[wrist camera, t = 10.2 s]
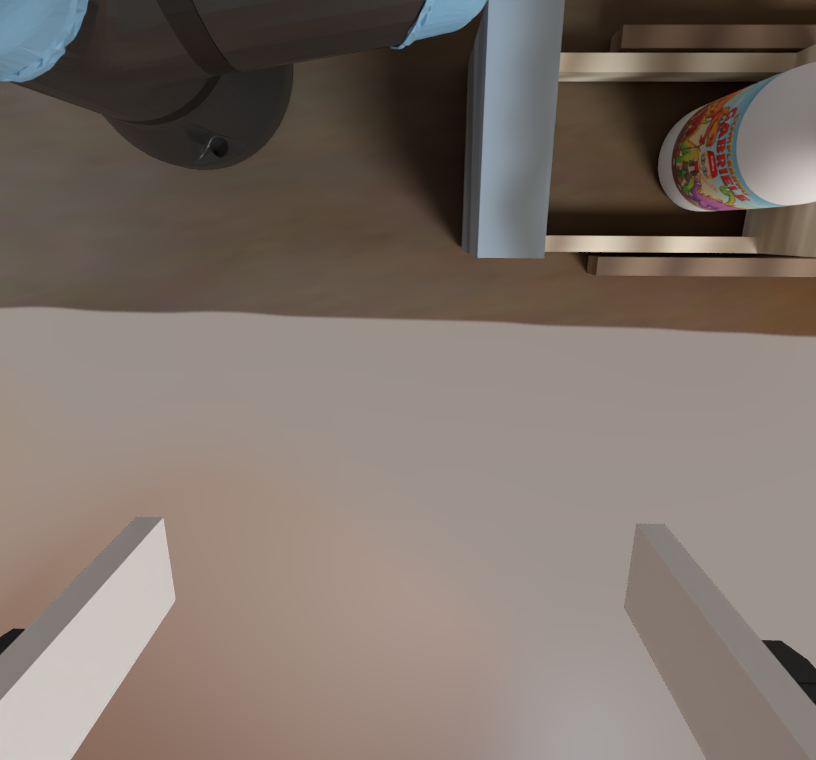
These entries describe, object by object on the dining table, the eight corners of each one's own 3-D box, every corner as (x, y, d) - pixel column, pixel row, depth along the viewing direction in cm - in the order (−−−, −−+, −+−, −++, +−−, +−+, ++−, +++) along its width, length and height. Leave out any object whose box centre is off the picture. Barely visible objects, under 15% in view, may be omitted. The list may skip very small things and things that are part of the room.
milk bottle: (730, 84, 39) (1036, -56, 20) (769, 176, 41) (1084, 129, 21) (637, 144, 40) (837, 68, 21) (679, 231, 42) (898, 233, 23)
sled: (461, 249, 42) (477, 257, 31) (468, 63, 38) (489, -8, 27) (761, 251, 42) (890, 260, 30) (798, 63, 38) (963, -9, 26)
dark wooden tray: (586, 272, 43) (596, 275, 41) (611, 37, 38) (623, 24, 36) (910, 275, 42) (938, 277, 40) (977, 37, 38) (1013, 24, 35)
